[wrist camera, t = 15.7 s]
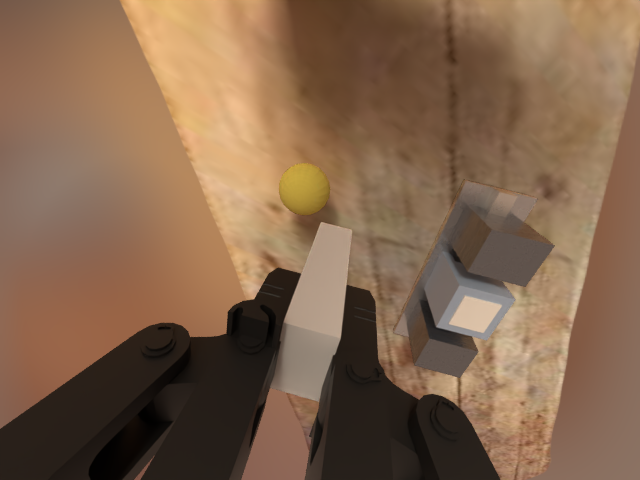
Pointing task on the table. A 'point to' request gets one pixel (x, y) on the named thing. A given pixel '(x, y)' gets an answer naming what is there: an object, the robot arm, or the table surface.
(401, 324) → the grey block holder
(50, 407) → the robot arm
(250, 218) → the table surface
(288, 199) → the light bulb
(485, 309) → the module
